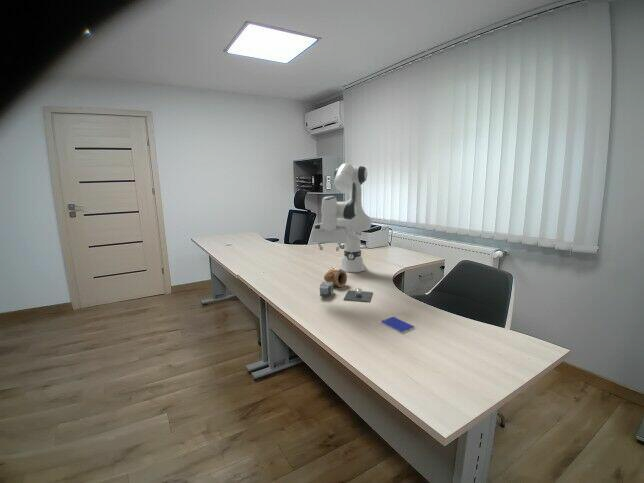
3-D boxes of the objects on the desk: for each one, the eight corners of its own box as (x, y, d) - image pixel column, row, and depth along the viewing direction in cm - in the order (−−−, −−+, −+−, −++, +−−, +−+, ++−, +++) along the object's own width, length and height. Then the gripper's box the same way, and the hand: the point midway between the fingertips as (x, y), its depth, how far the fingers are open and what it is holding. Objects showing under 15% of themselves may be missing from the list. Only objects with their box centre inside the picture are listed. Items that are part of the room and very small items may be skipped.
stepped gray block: (323, 291, 189) (322, 281, 188) (333, 292, 188) (333, 282, 187) (318, 298, 180) (318, 287, 179) (329, 298, 178) (329, 288, 177)
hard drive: (381, 320, 149) (401, 331, 138) (393, 316, 153) (414, 326, 143) (380, 324, 149) (401, 334, 139) (393, 319, 153) (414, 329, 143)
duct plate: (348, 291, 189) (348, 284, 189) (372, 293, 186) (372, 286, 185) (343, 300, 176) (343, 293, 175) (369, 302, 173) (369, 295, 172)
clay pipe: (323, 293, 196) (346, 288, 191) (317, 277, 195) (340, 271, 190) (331, 283, 214) (352, 277, 209) (325, 267, 213) (347, 262, 208)
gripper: (349, 225, 180) (348, 250, 183) (313, 224, 186) (313, 248, 188) (346, 226, 174) (346, 252, 177) (310, 225, 180) (310, 250, 182)
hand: (329, 250), depth 182 cm, fingers open, 8 cm apart
